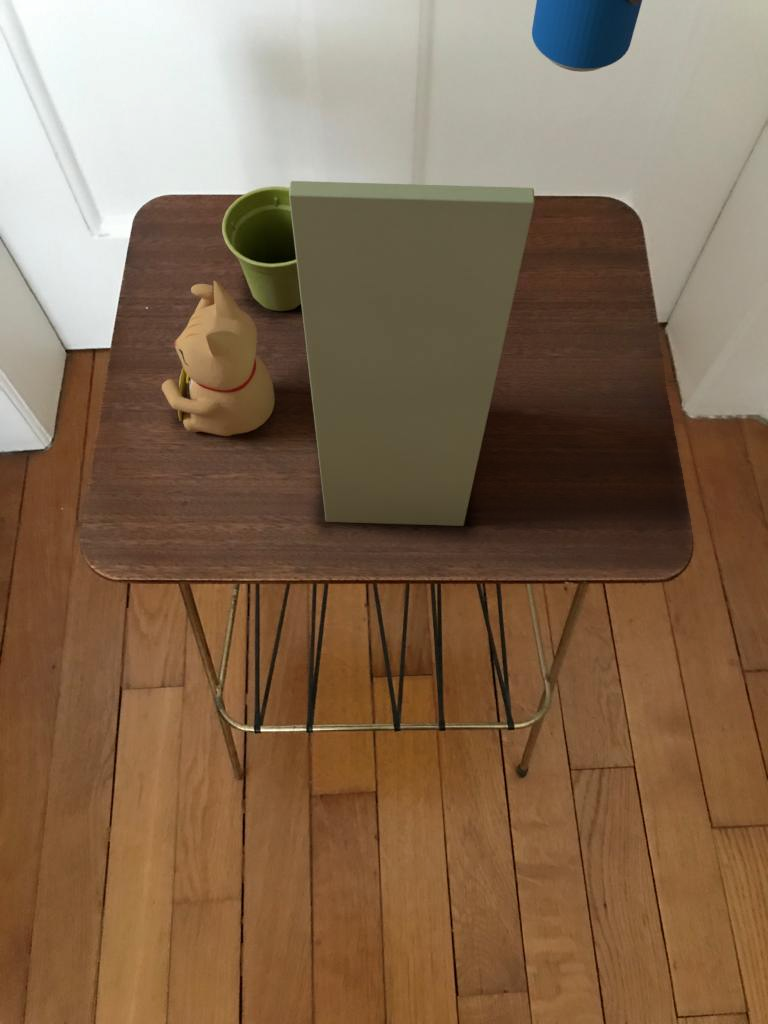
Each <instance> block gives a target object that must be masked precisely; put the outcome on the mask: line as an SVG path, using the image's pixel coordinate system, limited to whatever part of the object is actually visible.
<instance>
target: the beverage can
mask: <svg viewBox="0 0 768 1024" xmlns="http://www.w3.org/2000/svg"><path fill="white" fill-rule="evenodd" d="M642 3H643V0H640V2H639V3H638V4H637V5H636V6H632V5H631V4H629V3H627V2H626V1H624V0H536V3H535V8H534V15H533V21H532V26H531V37H532V38H531V39H532V42H533V44H534V45H535V47H536V49H537V51H539V53H540V54H541V55H542V56H543V57H545V58H546V59H548V60H549V61H550V62H551V63H552V64H554V65H556V66H557V67H559V68H561V69H564V70H567V71H571V72H578V73H580V72H581V73H583V72H585V73H587V72H592V71H596V70H597V71H598V70H600V69H603V68H606V67H608V66H611V65H613V64H615V63H617V62H618V61H620V60H621V59H622V58H623V57H624V56H625V55H626V54H627V52H628V51H629V49H630V46H631V43H632V40H633V36H634V32H635V30H636V29H635V28H636V26H637V21H638V17H639V13H640V10H641V6H642Z"/></svg>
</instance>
